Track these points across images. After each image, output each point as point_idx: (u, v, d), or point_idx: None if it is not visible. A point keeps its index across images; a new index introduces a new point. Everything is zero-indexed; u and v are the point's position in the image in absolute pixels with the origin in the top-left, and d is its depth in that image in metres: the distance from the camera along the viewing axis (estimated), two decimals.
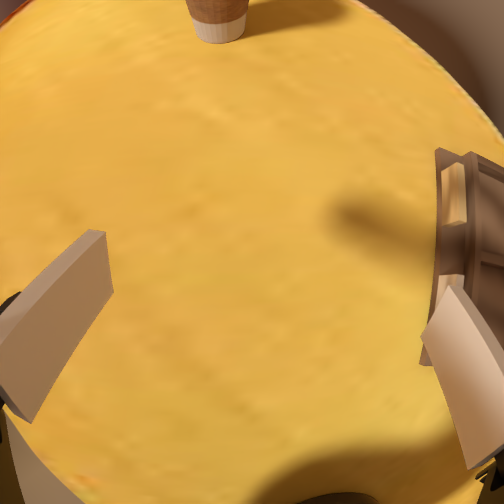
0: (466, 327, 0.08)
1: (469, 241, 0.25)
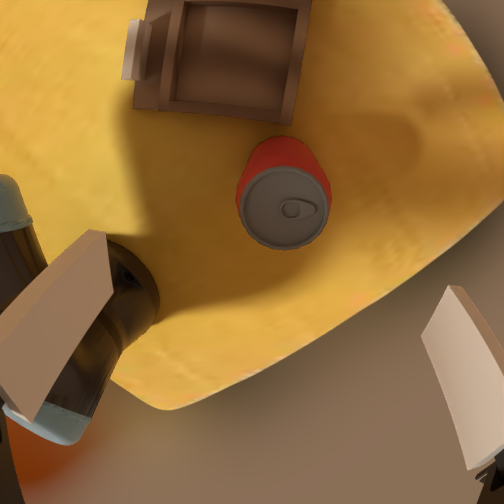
0: (466, 327, 0.08)
1: None
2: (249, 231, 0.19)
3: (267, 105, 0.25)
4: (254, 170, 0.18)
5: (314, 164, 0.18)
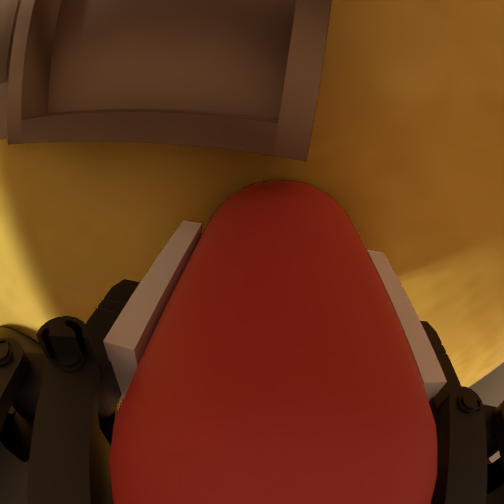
0: None
1: None
2: None
3: (242, 103, 0.09)
4: (130, 485, 0.03)
5: (417, 434, 0.03)
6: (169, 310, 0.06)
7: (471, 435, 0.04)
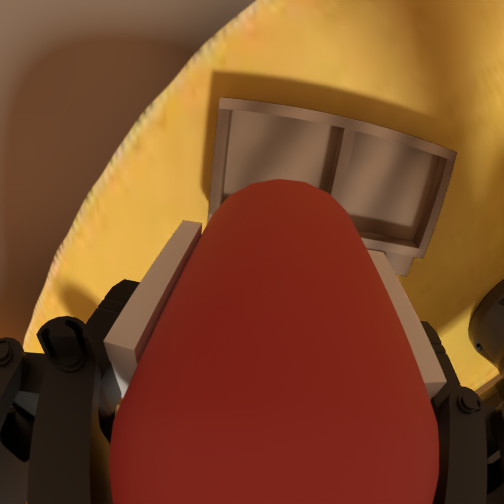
0: None
1: None
2: None
3: (432, 165, 0.26)
4: (129, 486, 0.03)
5: (419, 434, 0.03)
6: (169, 309, 0.06)
7: (470, 435, 0.04)
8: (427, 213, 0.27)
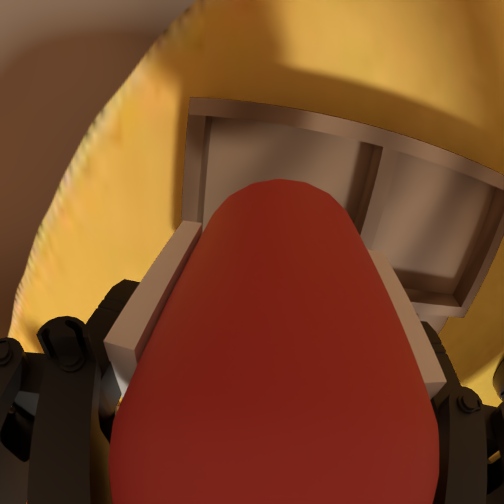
0: None
1: None
2: None
3: (488, 199, 0.17)
4: (129, 486, 0.03)
5: (419, 434, 0.03)
6: (169, 309, 0.06)
7: (470, 435, 0.04)
8: (476, 263, 0.18)
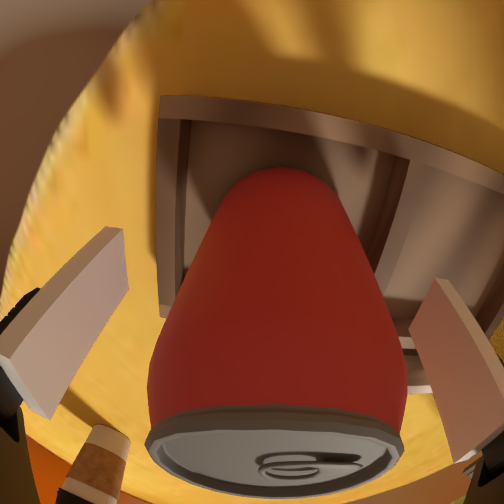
0: (451, 319, 0.08)
1: None
2: (187, 481, 0.06)
3: None
4: (176, 375, 0.05)
5: (382, 339, 0.05)
6: (197, 261, 0.08)
7: None
8: (501, 291, 0.15)
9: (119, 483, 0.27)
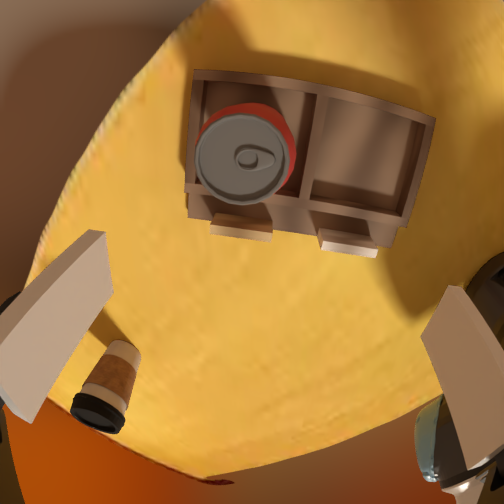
0: (466, 327, 0.08)
1: None
2: (204, 183, 0.17)
3: (412, 133, 0.25)
4: (211, 120, 0.17)
5: (276, 115, 0.17)
6: None
7: None
8: (408, 181, 0.27)
9: (130, 390, 0.39)
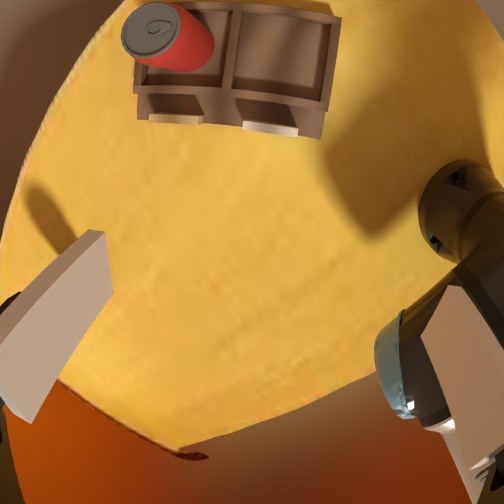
0: (466, 327, 0.08)
1: None
2: (126, 48, 0.19)
3: (324, 35, 0.27)
4: (136, 13, 0.18)
5: (178, 6, 0.19)
6: None
7: None
8: (324, 71, 0.28)
9: None
